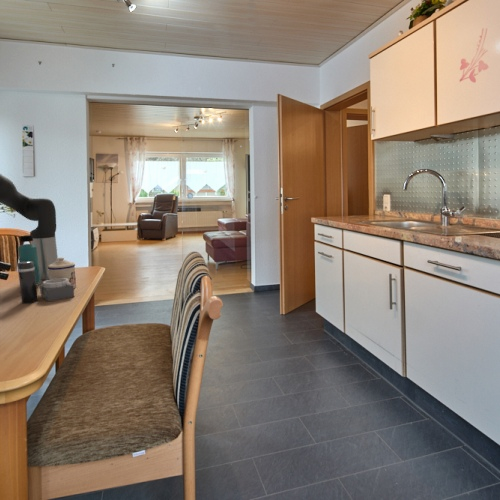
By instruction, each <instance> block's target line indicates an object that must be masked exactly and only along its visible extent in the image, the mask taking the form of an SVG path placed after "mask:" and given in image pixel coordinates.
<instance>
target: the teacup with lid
mask: <svg viewBox="0 0 500 500" xmlns="http://www.w3.org/2000/svg"><path fill="white" fill-rule="evenodd" d="M75 266H76V264H75V263H74V262H71V261H68V260H66V259H65V257H58V261H56V262H54V263H53V264H50V265H49V266H48V269H49V276H50V279H57V278H67V279H69V283H71V285H73V289H76V288H77V279H76V278H77V276H76V268H75ZM50 279H49V280H50Z"/></svg>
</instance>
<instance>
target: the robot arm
mask: <svg viewBox="0 0 500 500" xmlns="http://www.w3.org/2000/svg"><path fill="white" fill-rule="evenodd" d="M0 204H2V205H3V206H6V207H8V208H10V209H12V210H13V211H16V213H17V214H19V215H21V216H22V217H24V218H25V219H27V220H30V221H32V222H37V226H36V228H34V229H33V230H31V231H30V233H29V235H31V236H32V238H33V241H30V244H34V245H35V246H37V255H38V264H39V272H40V280H41V281H42V280H44V281H46V280H50V276H49V269H48V266H49V265H50V264H53V263H54V262H56V261H58V258H59V257H58V249H57V241H56V240H57V239H56V238H57V237H56V232H57V213H56V206H55V204H54V202H53V201H52V200H51V199H49V198H33V197H29V196H27V195H24V194H23V193H21V192H19V190H18V189H17V187H16V185H15V184H14V182H13V181H12V180H10V179H9V178H8V177H6V176H5V175H3V174H1V173H0ZM11 268H12V264H11V263H7V262H3V261H0V270H3V271H0V280H3V281H7V280H8V279H9V276H10V273H9V271H11ZM6 271H7V272H6Z"/></svg>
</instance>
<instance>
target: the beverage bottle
mask: <svg viewBox="0 0 500 500" xmlns="http://www.w3.org/2000/svg"><path fill="white" fill-rule="evenodd" d="M19 239H20V240H19V241H20V242H22V243H25V244H20V245H19V246H18V248H17V251H18V262H19V263H20V262H25V261H32V262H34V267H35V279H36V286H37V285H41V281H42V280H40V272H39V264H38V255H37V246H35V245H34V244H31V243H27V242H31V241H33V238H32V236H31V235H30V234H27V235H25V234H24V235H21V236H20V237H19Z"/></svg>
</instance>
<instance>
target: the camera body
mask: <svg viewBox="0 0 500 500" xmlns="http://www.w3.org/2000/svg"><path fill="white" fill-rule="evenodd" d="M74 289H75V288H74ZM74 289H73V285H71V283H69V279H67V278H57V279H45V280H44V281H42V283H40V284H39V292H40V297H42V298H43V299H44V300H46V301H48V302H54V301H59V300H64V299H69V298H74V297H75V290H74Z"/></svg>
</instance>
